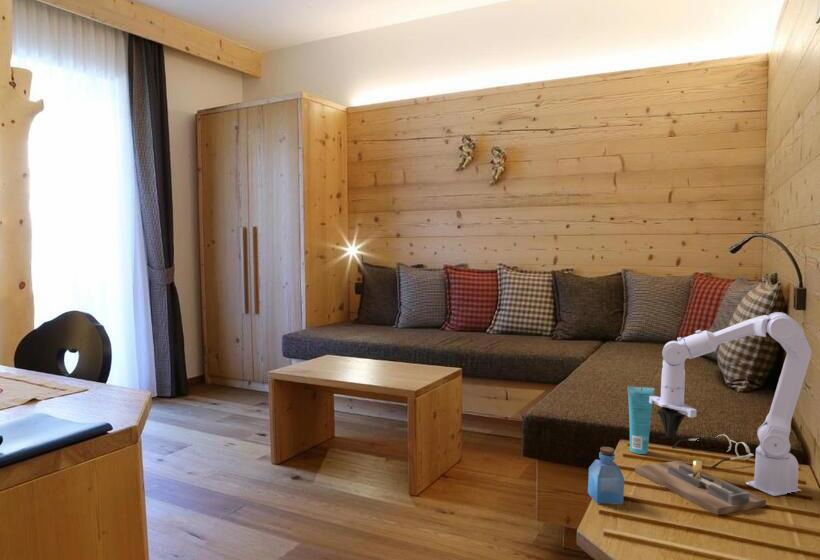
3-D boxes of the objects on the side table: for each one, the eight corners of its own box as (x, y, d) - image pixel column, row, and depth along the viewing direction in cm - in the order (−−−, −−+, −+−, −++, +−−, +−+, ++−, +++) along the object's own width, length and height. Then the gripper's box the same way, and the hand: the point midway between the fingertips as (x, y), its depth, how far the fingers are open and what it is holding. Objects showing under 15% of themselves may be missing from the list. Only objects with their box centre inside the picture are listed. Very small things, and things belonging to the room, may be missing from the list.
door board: (679, 465, 159) (679, 453, 159) (765, 506, 135) (766, 491, 135) (635, 472, 154) (635, 459, 154) (716, 515, 130) (717, 499, 130)
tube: (648, 449, 172) (651, 385, 171) (654, 455, 167) (657, 389, 166) (623, 448, 173) (625, 384, 172) (627, 454, 168) (630, 388, 167)
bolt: (693, 478, 147) (694, 458, 146) (734, 497, 135) (735, 476, 135) (687, 479, 146) (688, 459, 146) (727, 498, 135) (728, 477, 134)
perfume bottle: (613, 492, 141) (615, 444, 140) (623, 504, 135) (625, 453, 134) (587, 492, 141) (589, 444, 140) (596, 504, 134) (598, 453, 134)
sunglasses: (757, 466, 162) (758, 448, 161) (711, 470, 158) (712, 452, 158) (712, 445, 178) (713, 429, 178) (669, 448, 174) (670, 432, 174)
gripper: (641, 381, 160) (639, 429, 161) (682, 394, 146) (679, 446, 147) (661, 379, 162) (659, 427, 163) (703, 392, 149) (701, 444, 149)
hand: (670, 436), depth 155 cm, fingers closed
